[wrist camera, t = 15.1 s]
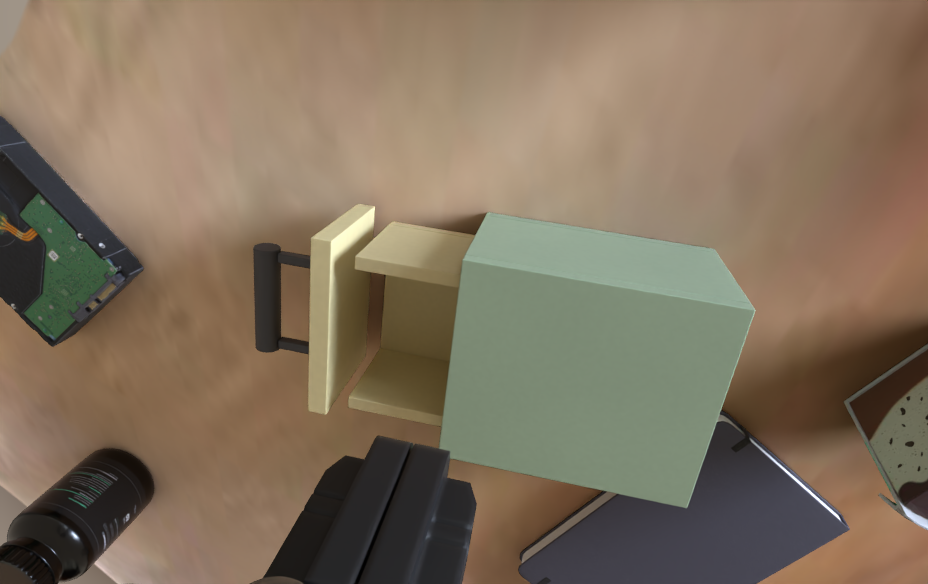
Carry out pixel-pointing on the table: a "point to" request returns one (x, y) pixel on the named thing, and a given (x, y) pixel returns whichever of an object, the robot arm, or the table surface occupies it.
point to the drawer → (347, 305)
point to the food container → (898, 432)
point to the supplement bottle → (76, 519)
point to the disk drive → (53, 246)
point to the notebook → (693, 526)
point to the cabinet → (591, 356)
